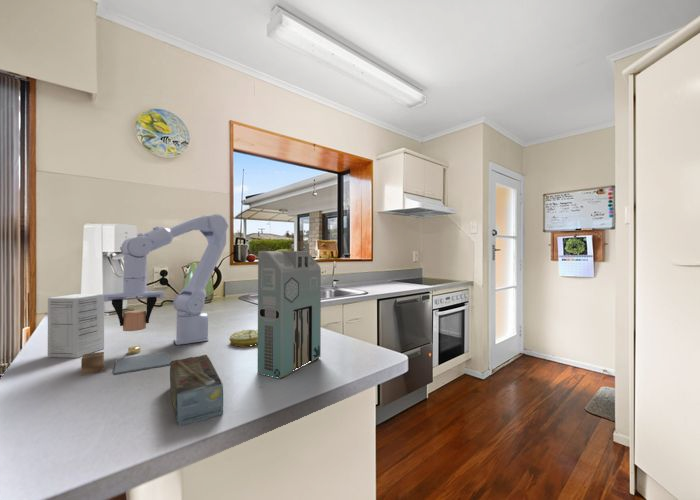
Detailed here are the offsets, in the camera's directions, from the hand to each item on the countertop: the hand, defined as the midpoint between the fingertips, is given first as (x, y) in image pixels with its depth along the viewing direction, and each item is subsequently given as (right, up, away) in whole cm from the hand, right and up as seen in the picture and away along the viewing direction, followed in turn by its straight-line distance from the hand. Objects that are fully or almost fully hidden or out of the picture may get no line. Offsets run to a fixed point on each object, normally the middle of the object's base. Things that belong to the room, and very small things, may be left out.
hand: (134, 323), depth 94 cm
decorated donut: (+30, -9, +11) cm, 33 cm away
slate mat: (+8, -8, -9) cm, 15 cm away
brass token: (0, -9, 0) cm, 9 cm away
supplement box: (-17, -9, 0) cm, 19 cm away
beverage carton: (+33, -9, -30) cm, 45 cm away
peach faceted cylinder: (0, -2, 0) cm, 2 cm away
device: (+48, -9, -11) cm, 50 cm away
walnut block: (0, -8, -15) cm, 17 cm away
